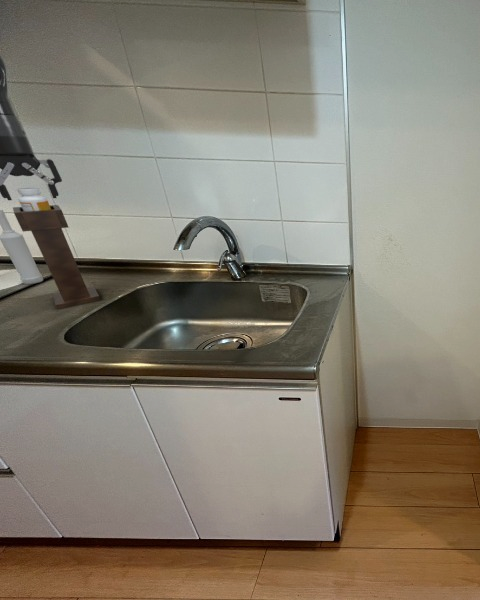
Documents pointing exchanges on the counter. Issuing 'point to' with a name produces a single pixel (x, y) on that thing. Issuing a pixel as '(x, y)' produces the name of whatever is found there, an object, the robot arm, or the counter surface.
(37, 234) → the holder
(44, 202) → the supplement bottle
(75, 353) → the counter surface
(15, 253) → the bottle
